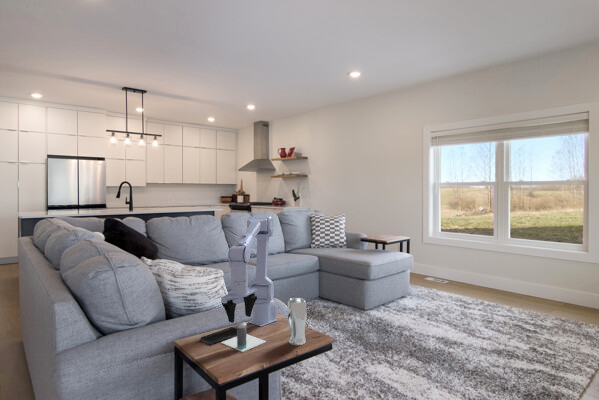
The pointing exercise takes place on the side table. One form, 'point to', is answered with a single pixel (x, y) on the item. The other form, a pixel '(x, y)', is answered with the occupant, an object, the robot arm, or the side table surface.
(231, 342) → the paper
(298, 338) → the beer glass
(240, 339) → the grey cylinder
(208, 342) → the phone
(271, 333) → the side table surface
